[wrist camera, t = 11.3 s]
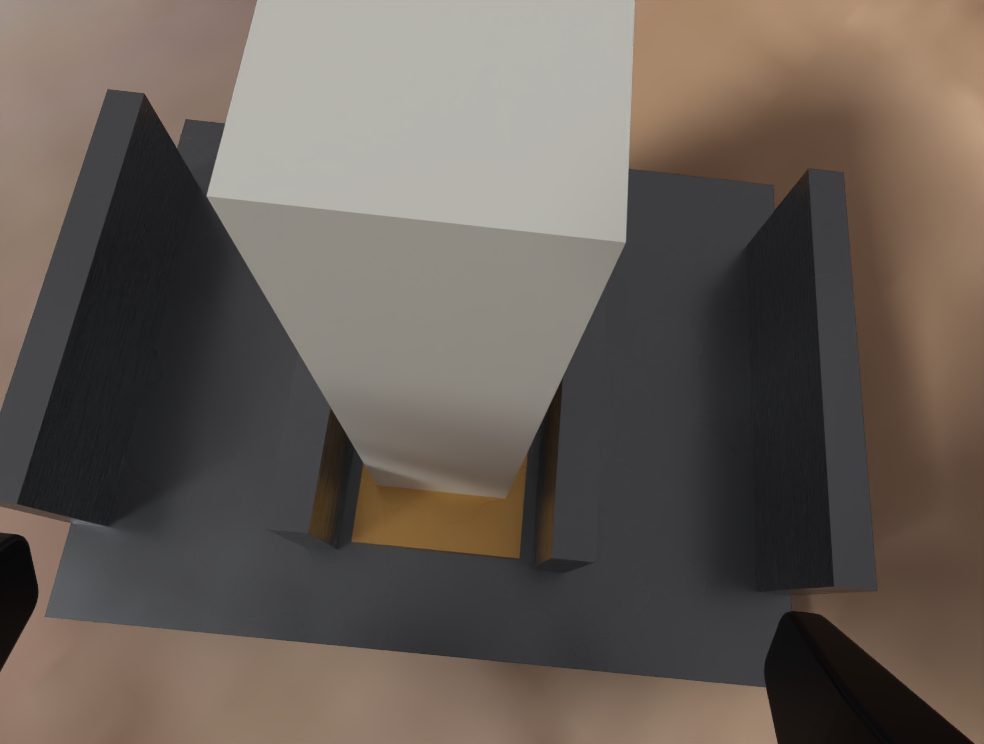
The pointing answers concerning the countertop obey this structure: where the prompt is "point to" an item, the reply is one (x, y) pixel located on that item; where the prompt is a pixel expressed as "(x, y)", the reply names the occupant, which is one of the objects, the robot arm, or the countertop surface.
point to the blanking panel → (432, 212)
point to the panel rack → (440, 515)
